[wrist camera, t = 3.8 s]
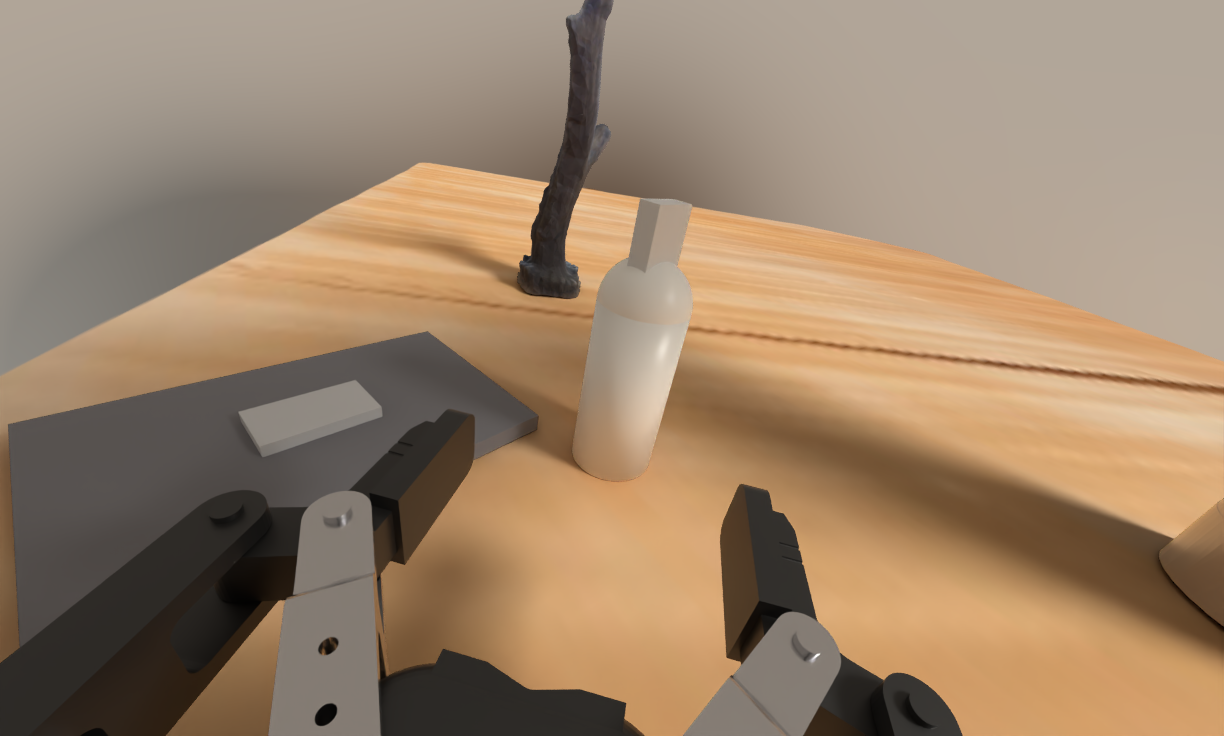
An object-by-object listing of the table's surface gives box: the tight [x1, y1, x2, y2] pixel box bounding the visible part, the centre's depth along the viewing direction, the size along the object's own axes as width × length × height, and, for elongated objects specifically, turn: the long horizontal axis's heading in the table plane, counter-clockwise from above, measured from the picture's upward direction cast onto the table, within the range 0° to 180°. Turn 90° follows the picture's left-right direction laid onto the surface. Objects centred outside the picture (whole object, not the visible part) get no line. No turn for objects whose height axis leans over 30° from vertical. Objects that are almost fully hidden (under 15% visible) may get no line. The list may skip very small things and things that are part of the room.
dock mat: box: [8, 331, 538, 647], centre depth 21 cm, size 18×12×2 cm, turn 137°
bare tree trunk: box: [517, 0, 613, 299], centre depth 38 cm, size 12×8×25 cm
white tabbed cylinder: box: [572, 199, 693, 482], centre depth 21 cm, size 4×4×14 cm
